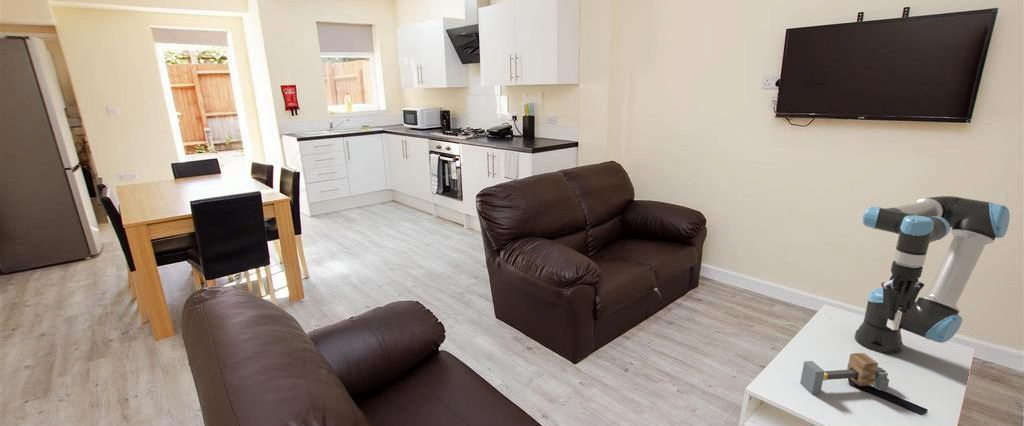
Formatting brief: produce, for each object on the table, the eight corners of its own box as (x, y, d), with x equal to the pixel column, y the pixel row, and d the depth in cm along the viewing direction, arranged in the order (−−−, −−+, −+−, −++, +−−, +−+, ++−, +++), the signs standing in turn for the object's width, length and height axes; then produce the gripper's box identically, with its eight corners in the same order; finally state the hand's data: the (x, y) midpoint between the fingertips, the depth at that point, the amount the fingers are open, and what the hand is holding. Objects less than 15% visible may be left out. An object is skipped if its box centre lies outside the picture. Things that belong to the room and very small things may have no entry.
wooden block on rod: (859, 374, 163) (864, 352, 160) (873, 384, 157) (878, 363, 155) (845, 374, 163) (850, 353, 160) (859, 385, 157) (864, 364, 154)
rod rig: (872, 378, 164) (877, 356, 161) (886, 389, 158) (892, 367, 156) (800, 383, 162) (804, 361, 160) (811, 394, 157) (816, 371, 154)
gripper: (916, 258, 152) (901, 321, 158) (878, 259, 151) (864, 323, 158) (938, 267, 144) (920, 332, 151) (898, 269, 144) (882, 335, 151)
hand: (892, 327), depth 154 cm, fingers closed
